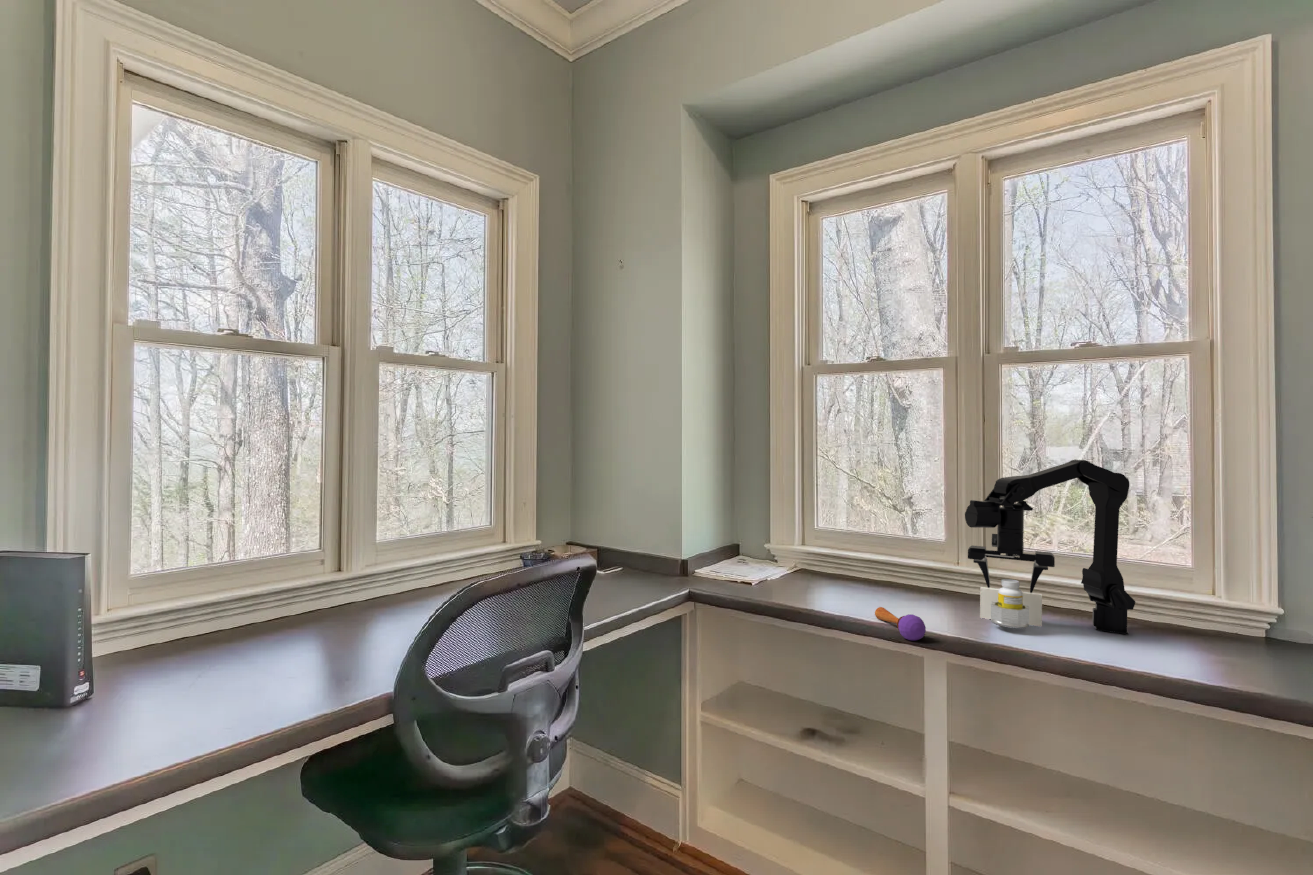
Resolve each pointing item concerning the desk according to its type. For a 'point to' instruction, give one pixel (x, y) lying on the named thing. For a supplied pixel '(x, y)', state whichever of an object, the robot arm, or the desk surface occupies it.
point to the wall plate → (1028, 599)
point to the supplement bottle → (1010, 594)
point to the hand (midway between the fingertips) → (1009, 590)
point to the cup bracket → (1010, 616)
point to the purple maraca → (904, 624)
